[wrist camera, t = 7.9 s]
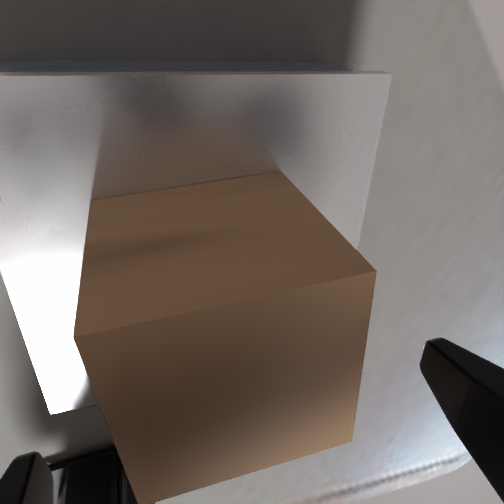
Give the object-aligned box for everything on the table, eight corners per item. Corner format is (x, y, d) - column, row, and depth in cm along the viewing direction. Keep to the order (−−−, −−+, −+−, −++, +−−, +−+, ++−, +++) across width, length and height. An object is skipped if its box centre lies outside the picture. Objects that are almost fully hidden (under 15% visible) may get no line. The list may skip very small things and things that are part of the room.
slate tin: (297, 294, 23) (335, 357, 19) (63, 329, 20) (50, 414, 16) (325, 55, 17) (392, 73, 13) (-13, 52, 14) (-68, 76, 10)
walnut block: (282, 310, 17) (351, 441, 12) (131, 344, 15) (139, 507, 10) (280, 171, 13) (376, 270, 8) (90, 200, 12) (72, 337, 7)
